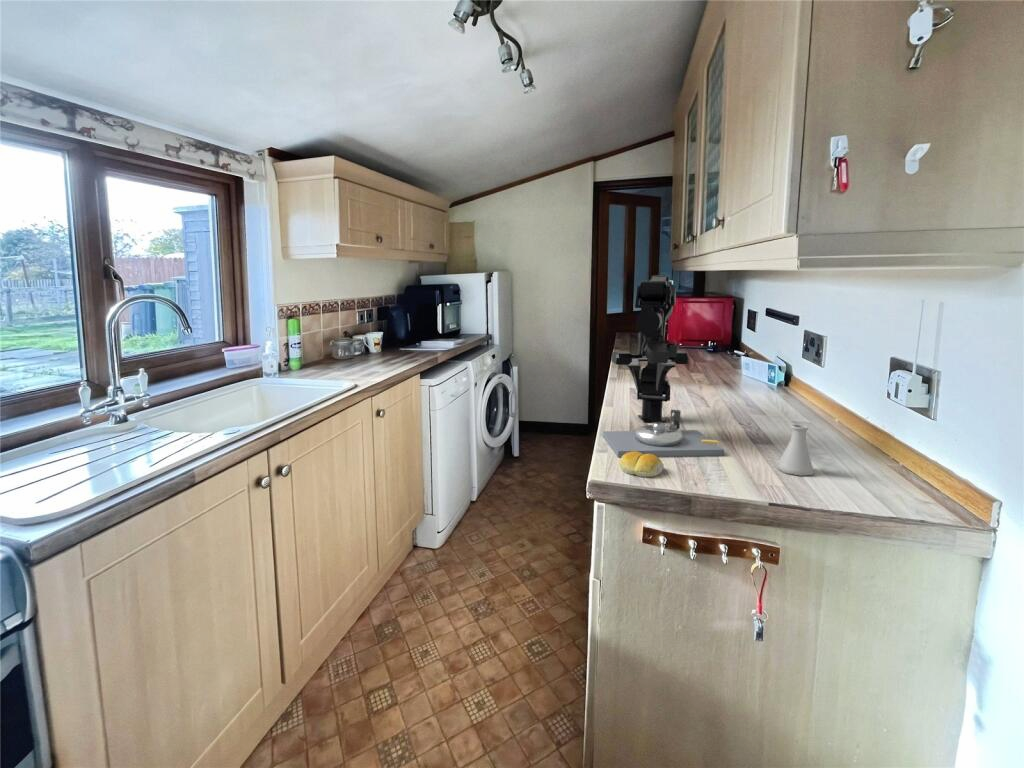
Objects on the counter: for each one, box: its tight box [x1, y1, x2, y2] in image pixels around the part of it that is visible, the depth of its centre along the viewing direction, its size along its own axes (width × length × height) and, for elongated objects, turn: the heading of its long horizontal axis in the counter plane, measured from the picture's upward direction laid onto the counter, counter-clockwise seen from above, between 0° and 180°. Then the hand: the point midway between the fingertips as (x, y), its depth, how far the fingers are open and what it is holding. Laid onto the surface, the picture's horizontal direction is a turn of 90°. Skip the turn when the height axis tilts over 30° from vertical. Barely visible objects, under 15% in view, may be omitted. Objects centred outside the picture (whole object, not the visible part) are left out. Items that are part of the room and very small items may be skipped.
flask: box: [776, 423, 815, 477], centre depth 109 cm, size 7×7×10 cm
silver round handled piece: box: [635, 409, 682, 446], centre depth 127 cm, size 16×11×6 cm
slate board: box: [602, 429, 725, 458], centre depth 126 cm, size 16×26×2 cm, turn 93°
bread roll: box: [619, 451, 665, 478], centre depth 110 cm, size 8×9×4 cm
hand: (647, 390), depth 133 cm, fingers open, 5 cm apart
